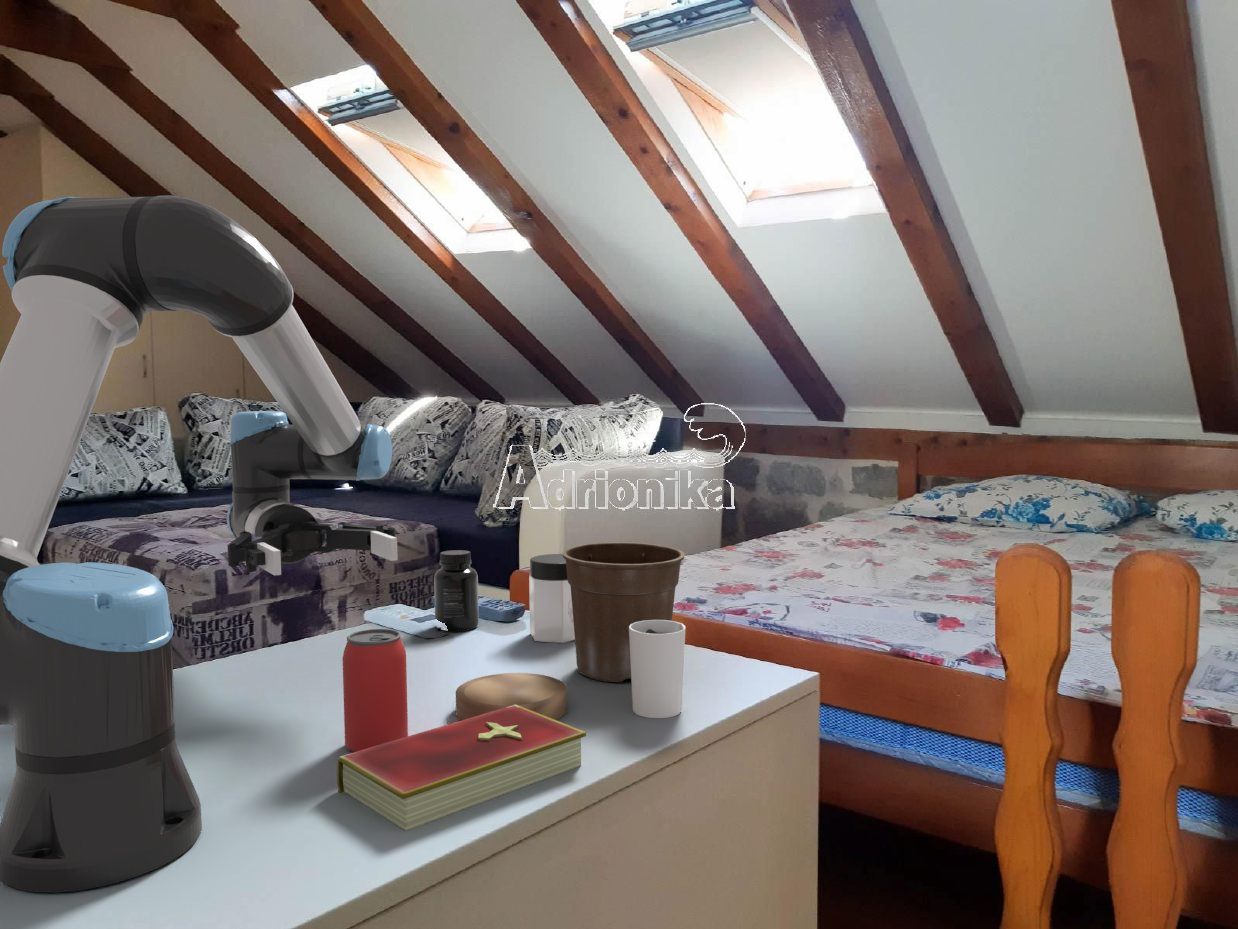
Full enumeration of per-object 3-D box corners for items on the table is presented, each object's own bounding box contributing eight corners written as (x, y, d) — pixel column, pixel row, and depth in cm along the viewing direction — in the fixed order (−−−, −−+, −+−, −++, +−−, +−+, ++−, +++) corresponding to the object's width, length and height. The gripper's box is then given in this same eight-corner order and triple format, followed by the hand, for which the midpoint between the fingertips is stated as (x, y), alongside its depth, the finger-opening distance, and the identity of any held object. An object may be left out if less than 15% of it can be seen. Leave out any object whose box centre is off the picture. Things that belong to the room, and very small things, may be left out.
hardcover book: (337, 795, 91) (336, 752, 90) (514, 738, 105) (513, 701, 105) (404, 839, 82) (402, 791, 82) (586, 770, 97) (586, 729, 96)
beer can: (392, 759, 98) (389, 645, 97) (333, 754, 100) (329, 642, 98) (418, 736, 105) (415, 628, 104) (362, 732, 106) (359, 626, 105)
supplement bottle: (487, 625, 152) (486, 551, 151) (458, 635, 147) (457, 557, 146) (455, 619, 156) (454, 547, 155) (425, 628, 150) (424, 553, 149)
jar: (552, 647, 140) (551, 566, 139) (517, 636, 146) (516, 558, 145) (597, 635, 146) (596, 558, 145) (562, 626, 152) (561, 551, 151)
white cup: (621, 715, 111) (620, 631, 110) (639, 698, 117) (639, 617, 116) (676, 722, 109) (676, 636, 108) (692, 704, 115) (692, 622, 114)
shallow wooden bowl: (488, 739, 104) (488, 716, 104) (437, 706, 114) (436, 685, 114) (588, 714, 111) (587, 693, 111) (531, 685, 122) (531, 666, 122)
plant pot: (702, 662, 132) (703, 547, 130) (652, 696, 118) (652, 567, 116) (599, 647, 139) (599, 538, 138) (540, 678, 125) (539, 556, 124)
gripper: (374, 549, 134) (439, 574, 117) (182, 571, 120) (224, 603, 102) (372, 496, 133) (437, 513, 116) (179, 511, 119) (221, 534, 102)
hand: (338, 556), depth 109 cm, fingers open, 13 cm apart
